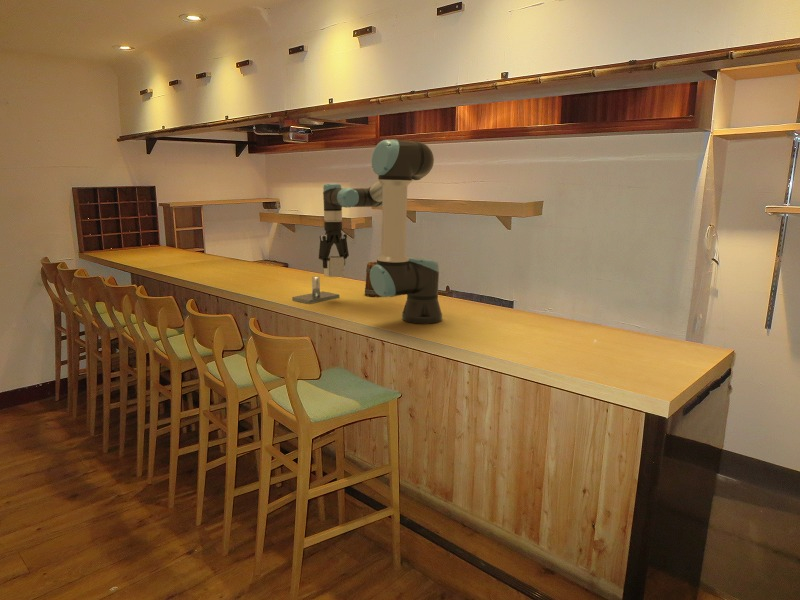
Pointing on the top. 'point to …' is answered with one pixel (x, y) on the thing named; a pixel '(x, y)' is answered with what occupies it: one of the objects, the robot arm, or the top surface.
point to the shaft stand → (315, 294)
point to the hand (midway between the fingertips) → (334, 274)
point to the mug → (368, 288)
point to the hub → (336, 266)
